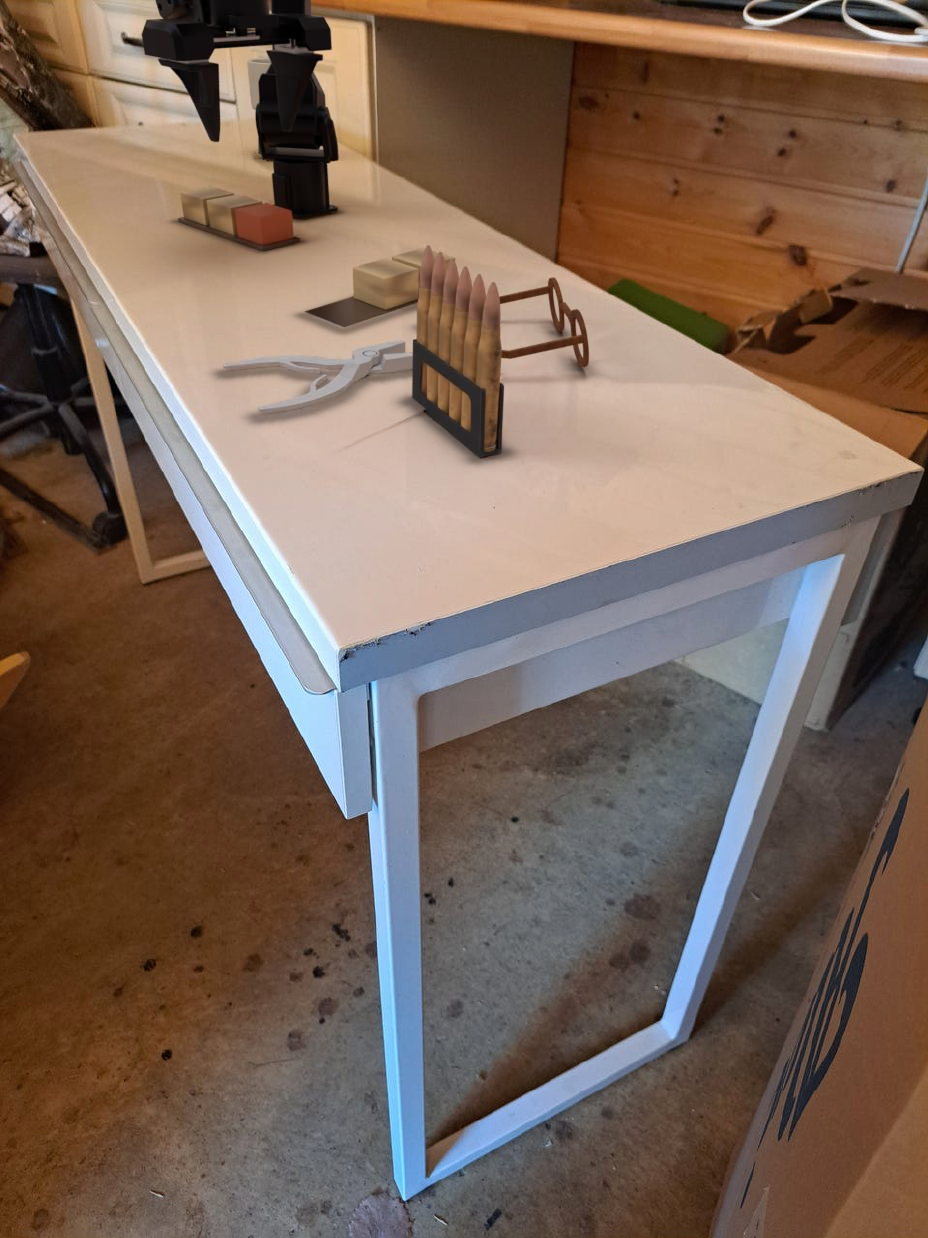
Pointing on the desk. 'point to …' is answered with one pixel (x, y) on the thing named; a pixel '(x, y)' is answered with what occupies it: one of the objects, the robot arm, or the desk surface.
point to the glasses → (558, 324)
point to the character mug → (256, 80)
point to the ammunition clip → (459, 354)
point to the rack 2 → (379, 289)
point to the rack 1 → (220, 214)
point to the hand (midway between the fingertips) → (251, 135)
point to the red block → (264, 223)
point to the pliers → (362, 364)
